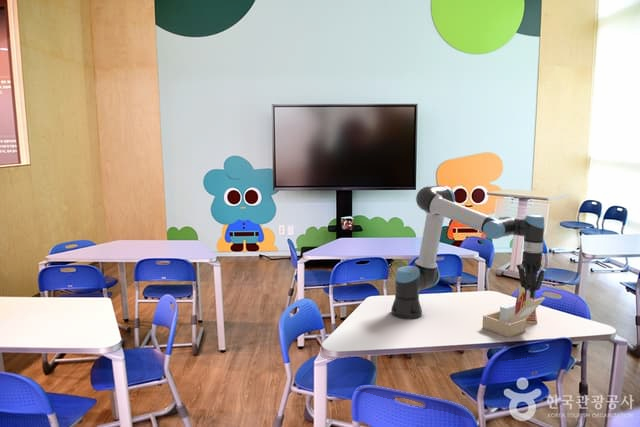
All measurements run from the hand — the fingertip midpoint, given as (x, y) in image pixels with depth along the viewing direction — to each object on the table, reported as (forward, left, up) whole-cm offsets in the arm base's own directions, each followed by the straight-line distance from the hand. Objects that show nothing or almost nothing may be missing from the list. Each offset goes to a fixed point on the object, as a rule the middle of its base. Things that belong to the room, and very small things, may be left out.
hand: (528, 304), depth 210 cm
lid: (-1, 0, -3) cm, 3 cm away
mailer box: (-10, +6, -15) cm, 19 cm away
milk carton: (-2, +26, -16) cm, 30 cm away
